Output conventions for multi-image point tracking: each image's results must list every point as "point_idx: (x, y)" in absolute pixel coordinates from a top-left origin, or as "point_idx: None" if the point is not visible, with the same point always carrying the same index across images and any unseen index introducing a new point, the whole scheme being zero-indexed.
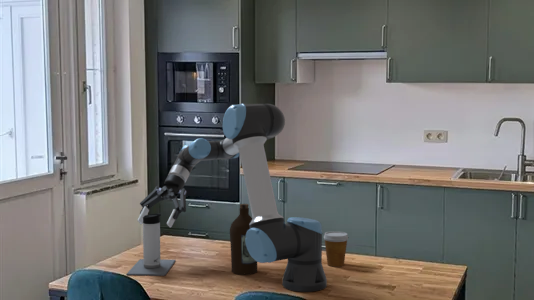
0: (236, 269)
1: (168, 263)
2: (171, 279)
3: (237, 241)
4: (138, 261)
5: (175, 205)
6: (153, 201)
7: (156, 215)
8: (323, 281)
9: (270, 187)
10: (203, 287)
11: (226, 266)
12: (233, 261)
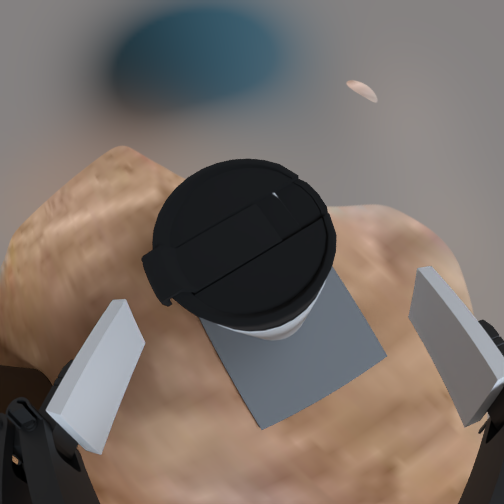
0: (29, 369)
1: (247, 374)
2: (138, 244)
3: None
4: (368, 329)
5: (45, 461)
6: (480, 498)
7: (215, 289)
8: None
9: None
10: (54, 240)
11: None
12: (21, 372)
